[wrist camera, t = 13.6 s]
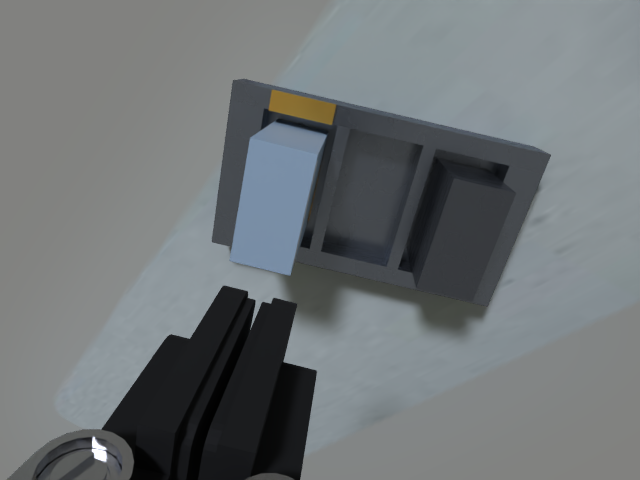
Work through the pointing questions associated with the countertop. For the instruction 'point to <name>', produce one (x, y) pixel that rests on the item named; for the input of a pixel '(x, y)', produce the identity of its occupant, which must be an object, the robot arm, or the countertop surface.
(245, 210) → the light blue block
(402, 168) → the rack
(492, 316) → the countertop surface
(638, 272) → the countertop surface
